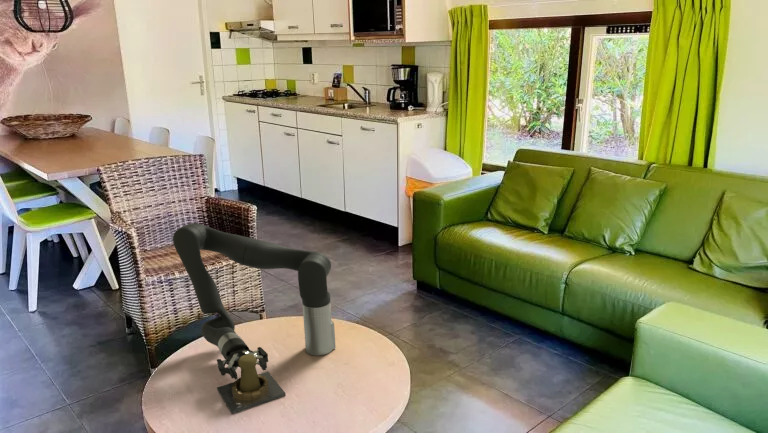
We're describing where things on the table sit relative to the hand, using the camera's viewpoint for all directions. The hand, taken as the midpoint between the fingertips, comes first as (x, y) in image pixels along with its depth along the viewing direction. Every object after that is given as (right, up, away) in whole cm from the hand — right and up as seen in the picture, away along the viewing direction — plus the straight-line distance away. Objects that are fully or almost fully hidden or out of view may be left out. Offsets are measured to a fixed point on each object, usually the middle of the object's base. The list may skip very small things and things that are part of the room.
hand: (250, 372), depth 166 cm
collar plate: (-1, -7, +4) cm, 8 cm away
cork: (-1, -6, +4) cm, 7 cm away
